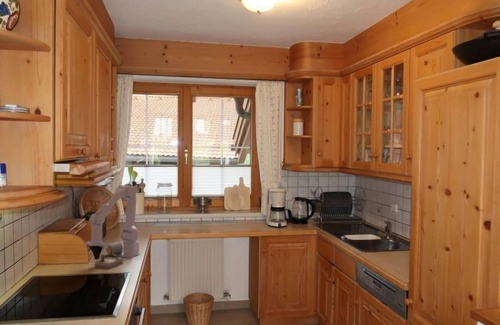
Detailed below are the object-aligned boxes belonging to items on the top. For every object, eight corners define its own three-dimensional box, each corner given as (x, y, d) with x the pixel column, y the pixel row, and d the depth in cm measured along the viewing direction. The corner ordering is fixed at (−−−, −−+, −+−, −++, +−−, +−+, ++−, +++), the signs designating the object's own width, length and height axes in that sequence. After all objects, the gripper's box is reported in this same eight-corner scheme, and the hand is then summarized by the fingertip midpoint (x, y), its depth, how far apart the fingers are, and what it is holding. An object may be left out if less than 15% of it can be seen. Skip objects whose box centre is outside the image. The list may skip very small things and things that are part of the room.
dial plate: (106, 261, 222) (106, 256, 222) (122, 263, 218) (122, 258, 218) (94, 266, 212) (94, 261, 212) (110, 268, 209) (110, 263, 209)
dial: (112, 259, 221) (112, 251, 221) (118, 262, 215) (118, 254, 215) (99, 262, 216) (98, 253, 216) (103, 265, 210) (103, 256, 210)
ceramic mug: (105, 254, 237) (105, 242, 237) (117, 252, 243) (118, 240, 242) (113, 258, 229) (113, 245, 229) (125, 255, 235) (125, 243, 235)
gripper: (81, 235, 213) (81, 259, 213) (102, 237, 208) (102, 262, 208) (90, 233, 219) (90, 256, 220) (111, 235, 214) (111, 258, 215)
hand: (96, 259), depth 214 cm, fingers closed
